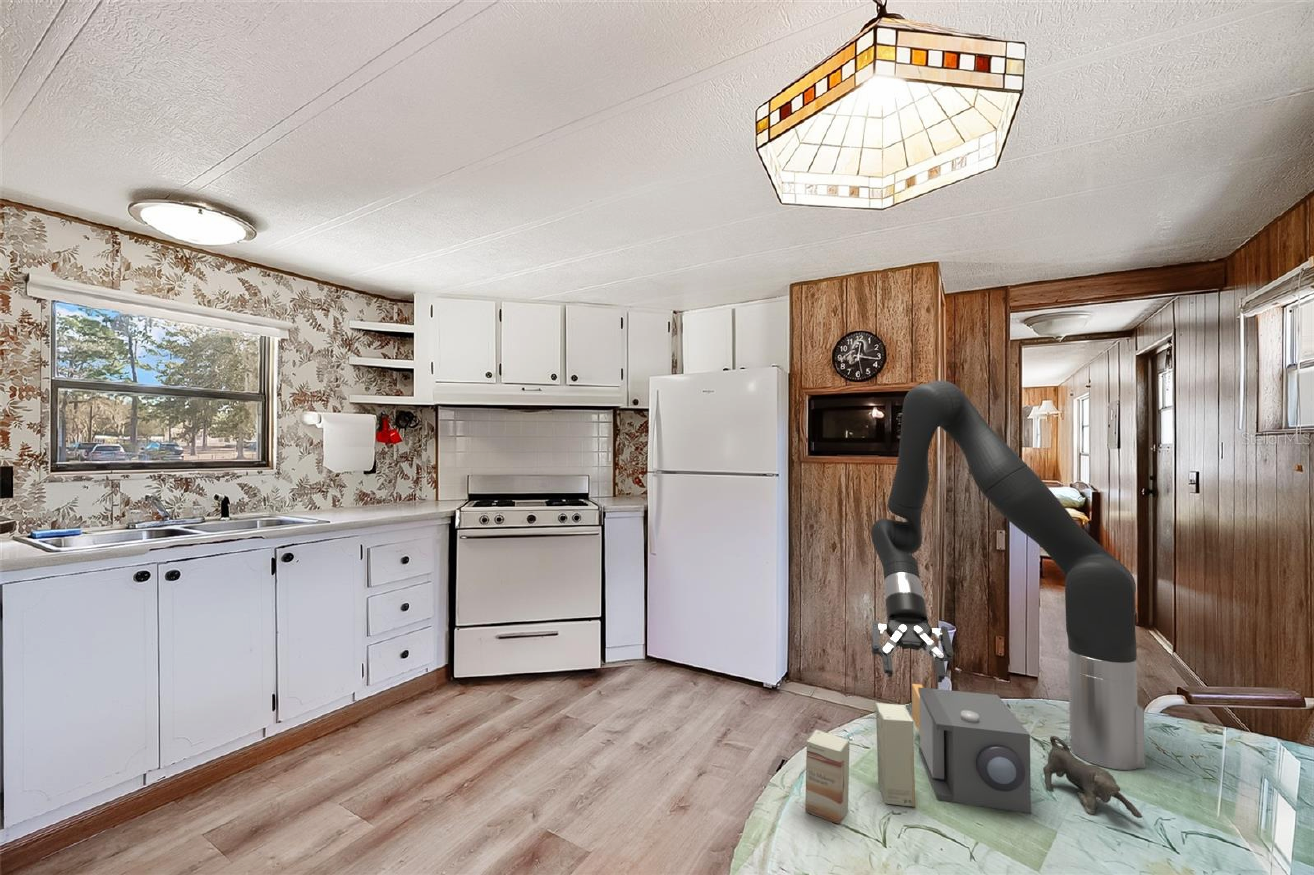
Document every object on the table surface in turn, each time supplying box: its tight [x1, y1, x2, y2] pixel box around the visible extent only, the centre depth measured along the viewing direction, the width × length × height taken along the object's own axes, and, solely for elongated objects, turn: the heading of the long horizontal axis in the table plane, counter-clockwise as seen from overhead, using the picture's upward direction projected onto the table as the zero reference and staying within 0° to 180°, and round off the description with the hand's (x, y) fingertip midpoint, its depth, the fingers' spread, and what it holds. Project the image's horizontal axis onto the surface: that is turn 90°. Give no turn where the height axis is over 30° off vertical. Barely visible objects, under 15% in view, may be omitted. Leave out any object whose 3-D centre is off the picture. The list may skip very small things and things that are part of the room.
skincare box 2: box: [875, 702, 916, 807], centre depth 86 cm, size 6×4×12 cm
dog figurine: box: [1042, 735, 1143, 819], centre depth 84 cm, size 12×6×7 cm, turn 11°
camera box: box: [918, 687, 1032, 814], centre depth 89 cm, size 12×15×12 cm
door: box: [911, 683, 944, 779], centre depth 96 cm, size 2×17×9 cm, turn 166°
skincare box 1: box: [804, 729, 850, 824], centre depth 82 cm, size 5×4×10 cm
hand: (915, 677), depth 106 cm, fingers open, 8 cm apart
